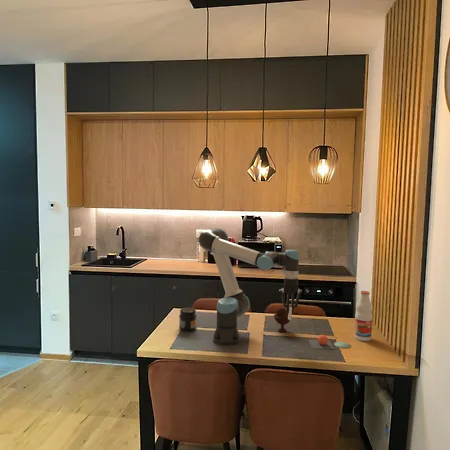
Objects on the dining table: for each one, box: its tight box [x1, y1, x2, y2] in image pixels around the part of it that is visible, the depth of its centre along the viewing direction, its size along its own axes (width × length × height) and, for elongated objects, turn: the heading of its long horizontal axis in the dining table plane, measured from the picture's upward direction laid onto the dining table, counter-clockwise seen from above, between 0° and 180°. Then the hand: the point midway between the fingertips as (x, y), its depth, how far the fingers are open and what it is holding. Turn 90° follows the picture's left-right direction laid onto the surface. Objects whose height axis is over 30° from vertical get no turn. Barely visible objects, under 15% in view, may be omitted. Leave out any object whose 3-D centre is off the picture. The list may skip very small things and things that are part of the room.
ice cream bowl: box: [273, 306, 292, 333], centre depth 231 cm, size 11×11×15 cm
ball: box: [317, 334, 329, 345], centre depth 211 cm, size 6×6×6 cm
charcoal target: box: [307, 339, 336, 350], centre depth 211 cm, size 12×12×1 cm
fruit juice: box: [353, 290, 374, 342], centre depth 221 cm, size 9×9×28 cm
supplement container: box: [178, 307, 197, 332], centre depth 231 cm, size 10×10×12 cm
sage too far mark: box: [333, 341, 352, 349], centre depth 211 cm, size 9×9×1 cm
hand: (289, 319), depth 211 cm, fingers closed
